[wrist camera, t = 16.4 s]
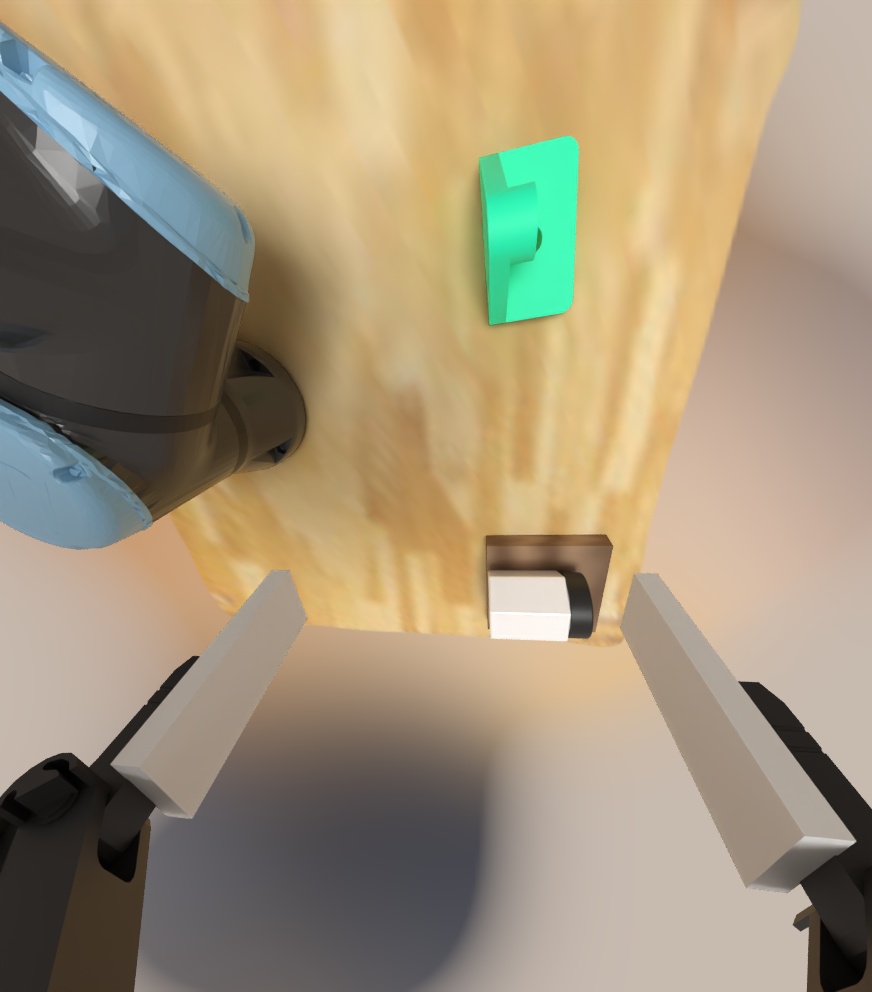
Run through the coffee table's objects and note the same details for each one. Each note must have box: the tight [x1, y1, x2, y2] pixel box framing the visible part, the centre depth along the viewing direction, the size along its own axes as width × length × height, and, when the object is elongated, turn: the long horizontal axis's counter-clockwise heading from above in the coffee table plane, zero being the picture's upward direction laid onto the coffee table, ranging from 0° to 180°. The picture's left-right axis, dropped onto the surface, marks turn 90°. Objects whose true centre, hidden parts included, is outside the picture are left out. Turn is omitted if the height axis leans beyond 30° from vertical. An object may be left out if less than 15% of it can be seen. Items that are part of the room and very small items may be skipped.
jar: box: [488, 570, 594, 641], centre depth 42 cm, size 9×8×12 cm
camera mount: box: [479, 136, 579, 325], centre depth 26 cm, size 12×8×10 cm, turn 8°
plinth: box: [486, 535, 613, 632], centre depth 47 cm, size 16×16×2 cm
